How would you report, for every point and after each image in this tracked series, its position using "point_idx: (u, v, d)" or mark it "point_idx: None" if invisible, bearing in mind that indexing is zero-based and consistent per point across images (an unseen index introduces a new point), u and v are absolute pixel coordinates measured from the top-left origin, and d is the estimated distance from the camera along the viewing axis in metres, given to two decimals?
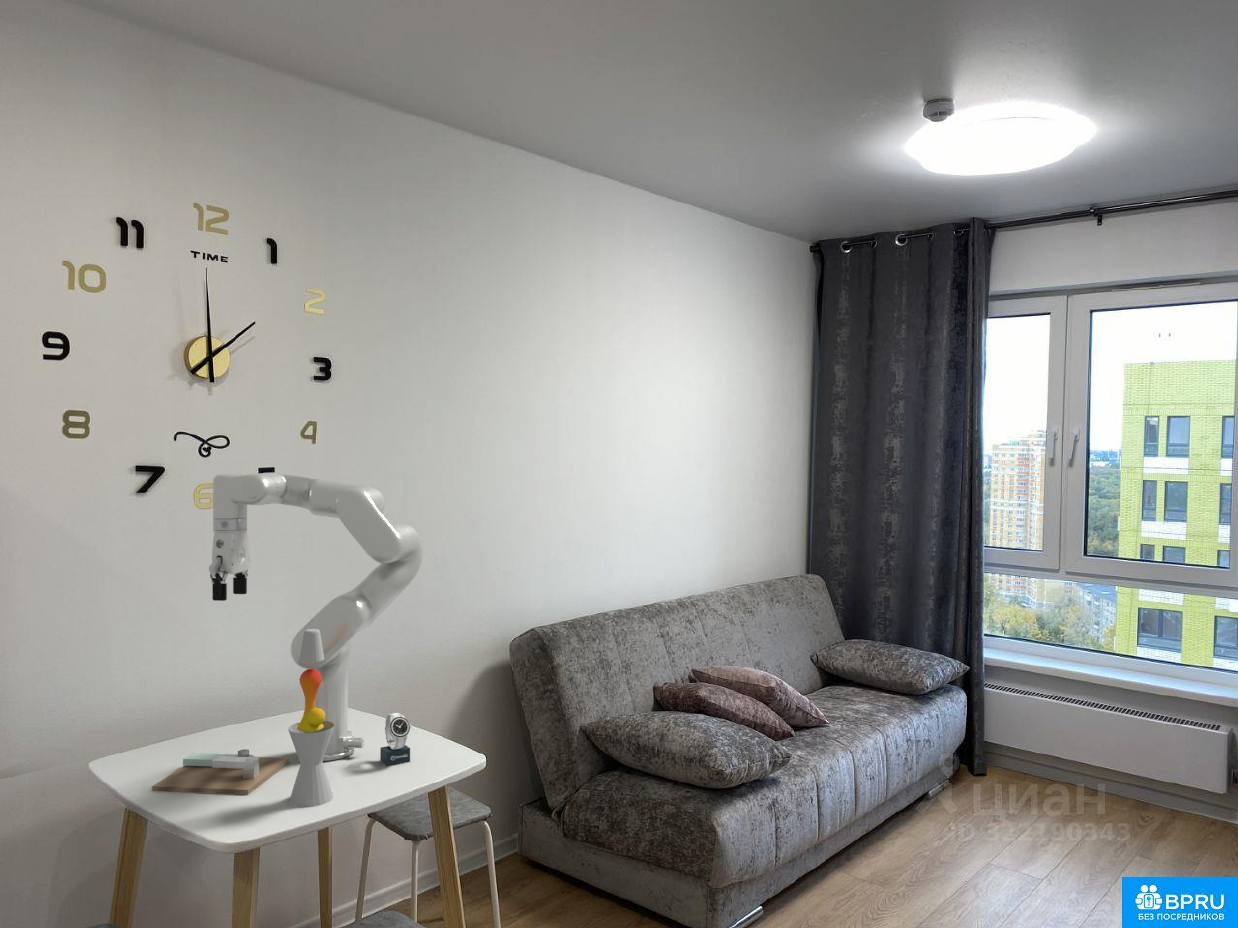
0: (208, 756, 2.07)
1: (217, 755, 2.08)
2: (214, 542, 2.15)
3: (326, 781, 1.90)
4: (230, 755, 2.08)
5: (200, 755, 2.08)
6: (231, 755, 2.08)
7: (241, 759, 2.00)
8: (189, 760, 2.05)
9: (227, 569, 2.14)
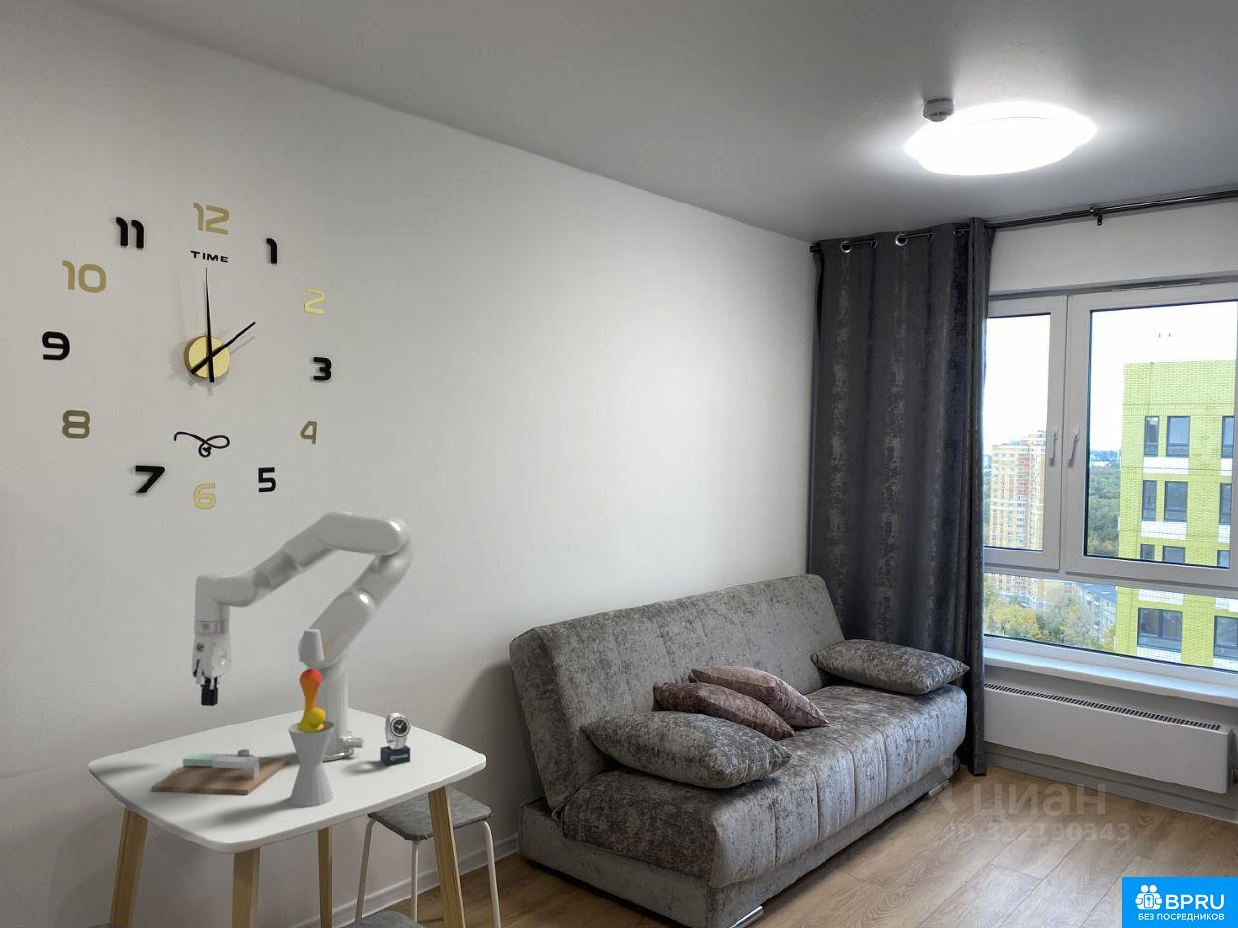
0: (208, 756, 2.07)
1: (217, 755, 2.08)
2: (194, 645, 2.10)
3: (326, 781, 1.90)
4: (230, 755, 2.08)
5: (200, 755, 2.08)
6: (231, 755, 2.08)
7: (241, 759, 2.00)
8: (189, 760, 2.05)
9: (207, 673, 2.10)
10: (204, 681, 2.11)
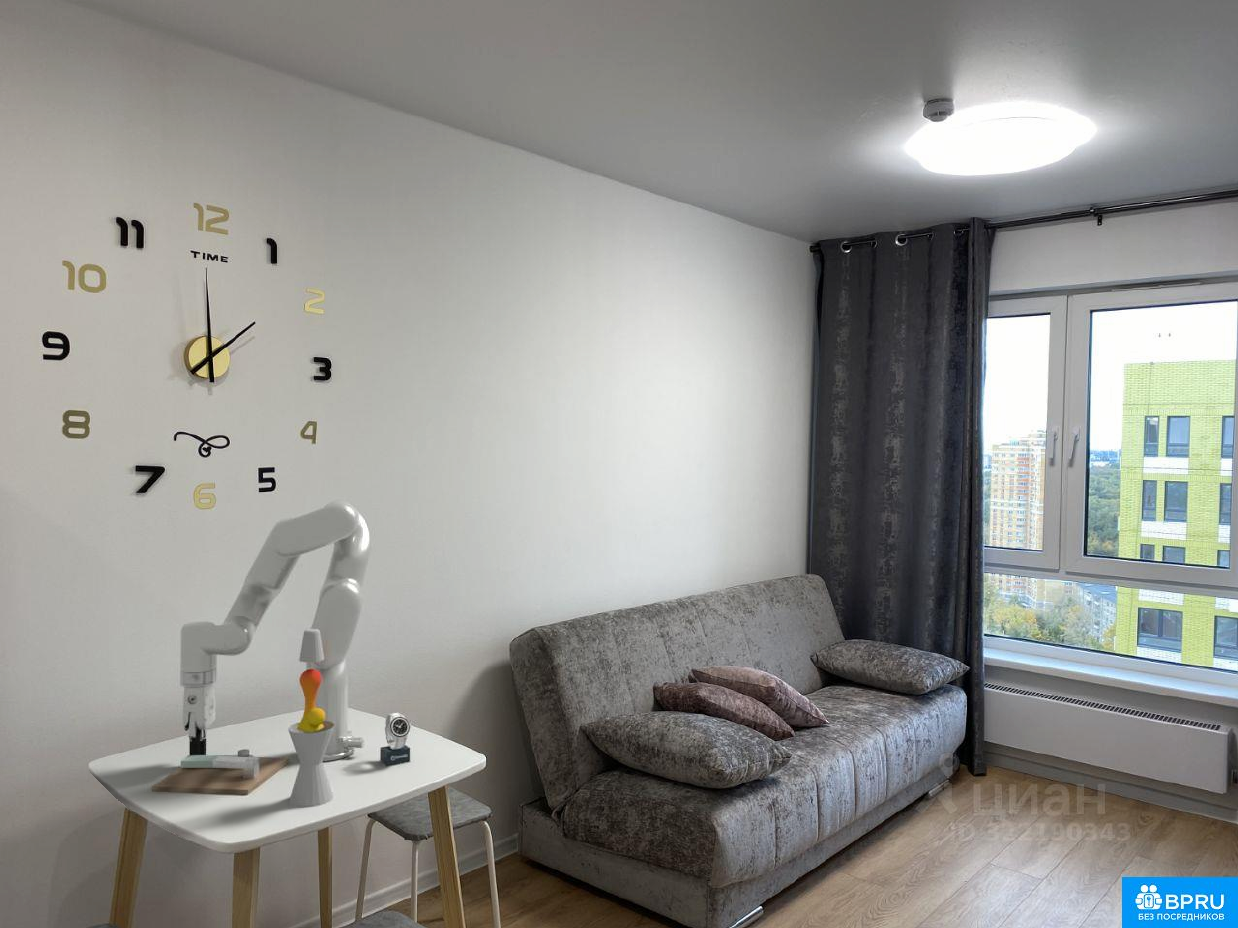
0: (206, 757, 2.06)
1: (215, 756, 2.07)
2: (185, 698, 2.05)
3: (326, 781, 1.90)
4: (229, 756, 2.07)
5: (197, 756, 2.07)
6: (230, 756, 2.07)
7: (241, 759, 2.00)
8: (187, 762, 2.04)
9: (201, 725, 2.05)
10: (196, 734, 2.06)
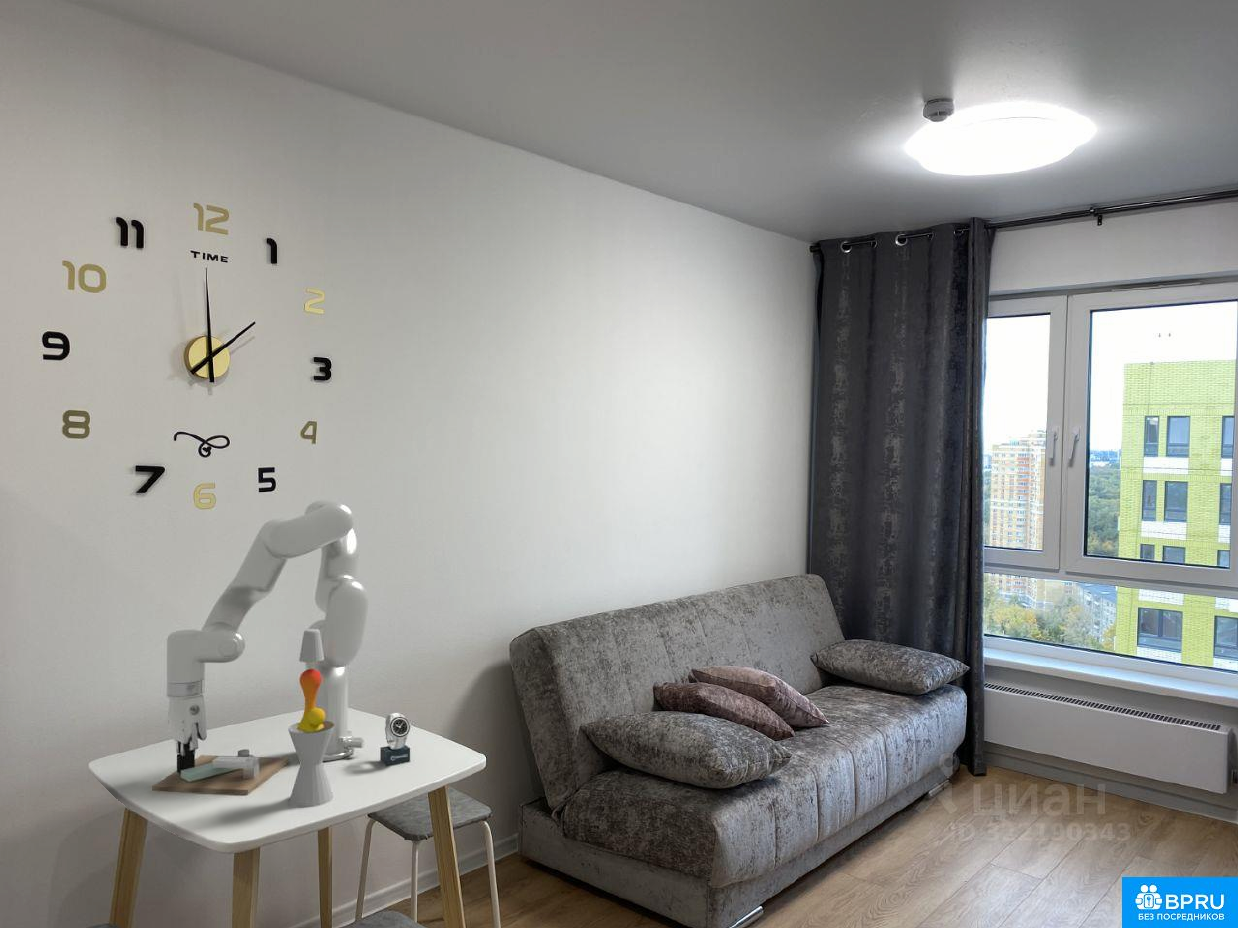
0: (207, 766, 2.00)
1: None
2: (187, 709, 1.96)
3: (326, 781, 1.90)
4: None
5: (195, 768, 1.99)
6: None
7: (241, 759, 2.00)
8: (196, 774, 1.96)
9: (204, 735, 1.98)
10: None
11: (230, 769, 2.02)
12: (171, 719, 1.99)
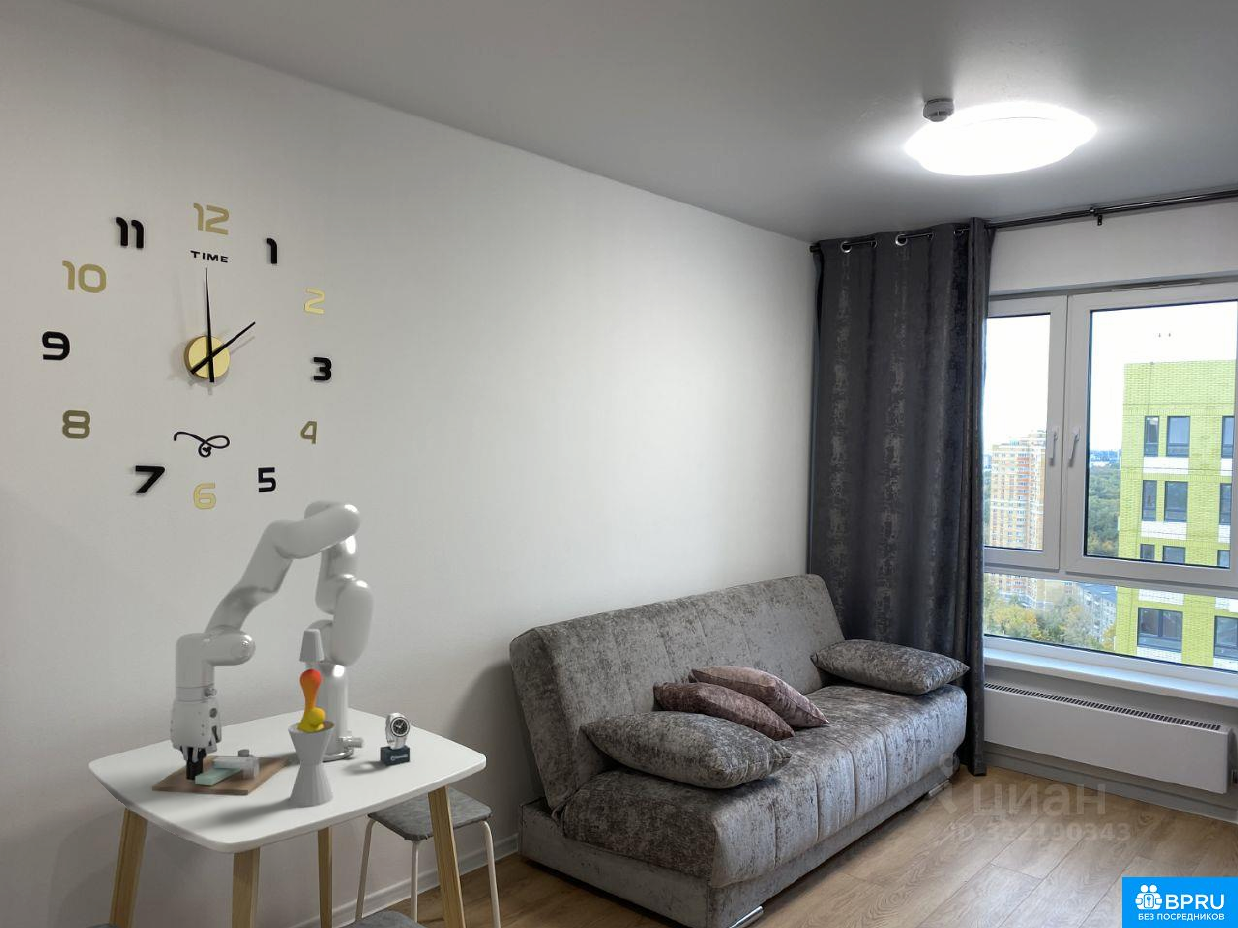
0: (218, 769, 1.99)
1: None
2: (207, 713, 1.93)
3: (326, 781, 1.90)
4: None
5: (208, 772, 1.96)
6: None
7: (241, 759, 2.00)
8: (216, 777, 1.95)
9: (220, 737, 1.97)
10: None
11: (239, 769, 2.02)
12: (180, 726, 1.94)
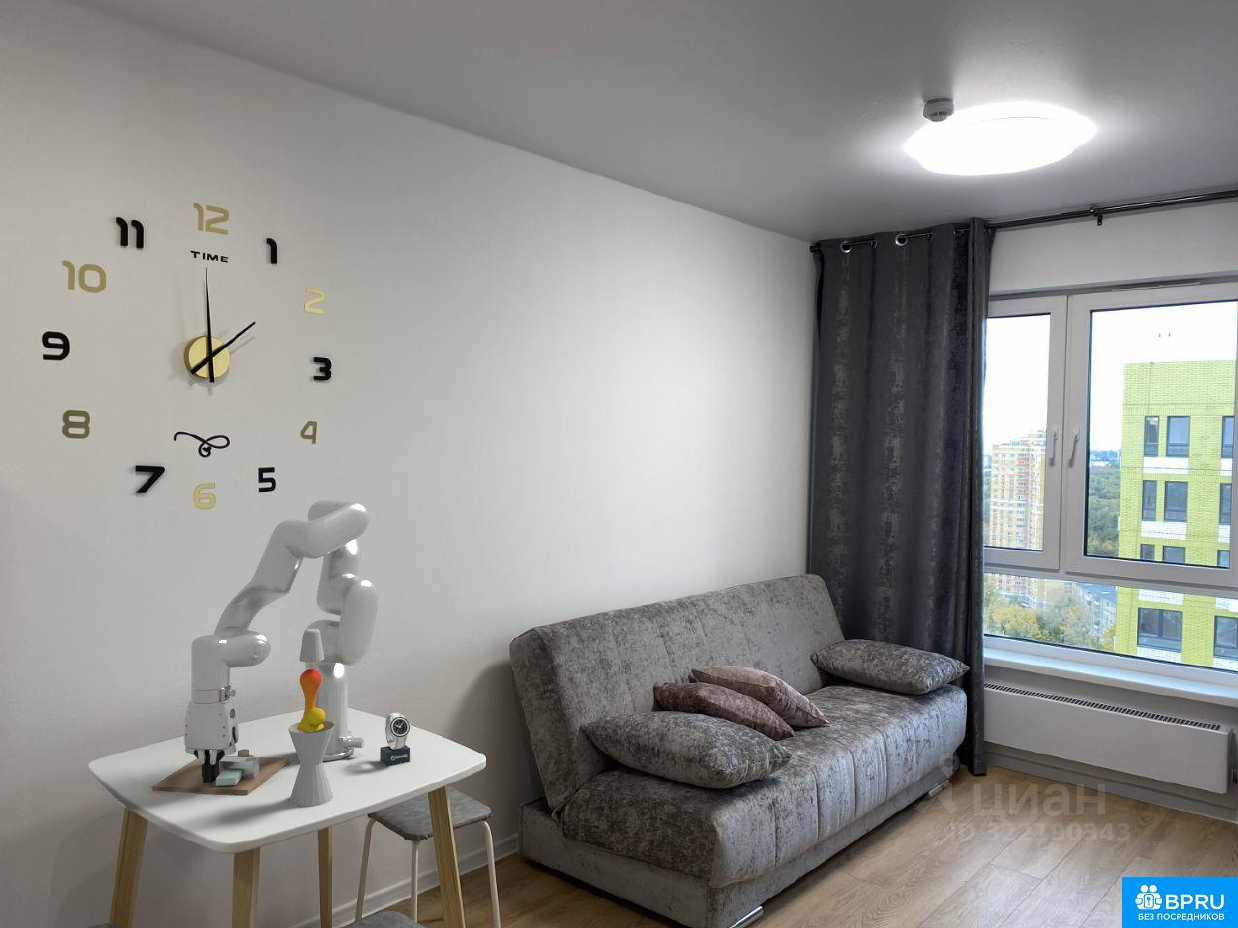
0: (232, 770, 1.98)
1: None
2: (227, 714, 1.93)
3: (326, 781, 1.90)
4: None
5: (226, 773, 1.96)
6: None
7: (241, 759, 2.00)
8: (237, 777, 1.95)
9: (238, 738, 1.96)
10: None
11: None
12: (197, 729, 1.92)
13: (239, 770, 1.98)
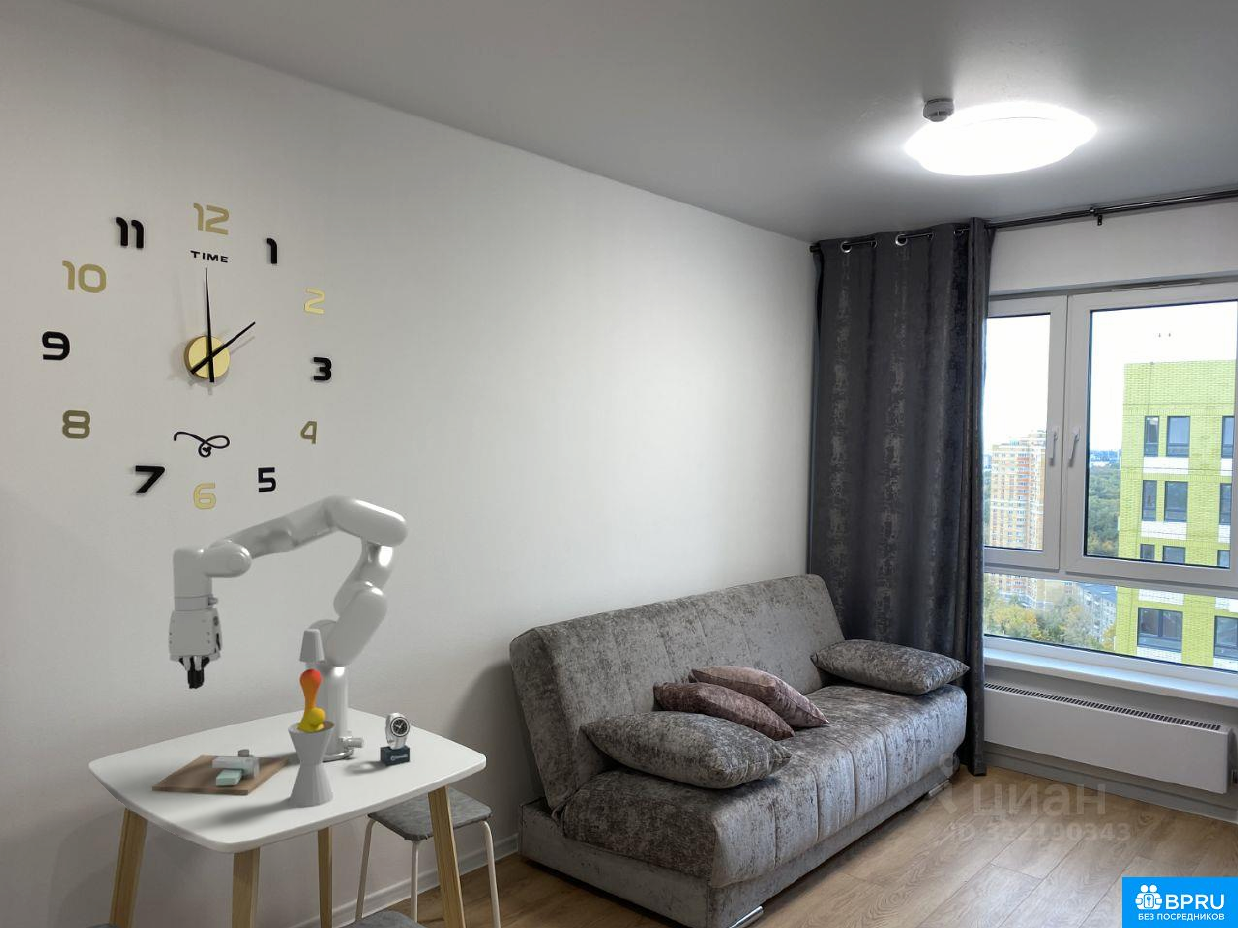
0: (232, 770, 1.98)
1: None
2: (211, 621, 1.98)
3: (326, 781, 1.90)
4: None
5: (225, 773, 1.96)
6: None
7: (241, 759, 2.00)
8: (237, 777, 1.95)
9: None
10: None
11: None
12: (181, 636, 1.97)
13: (239, 770, 1.98)
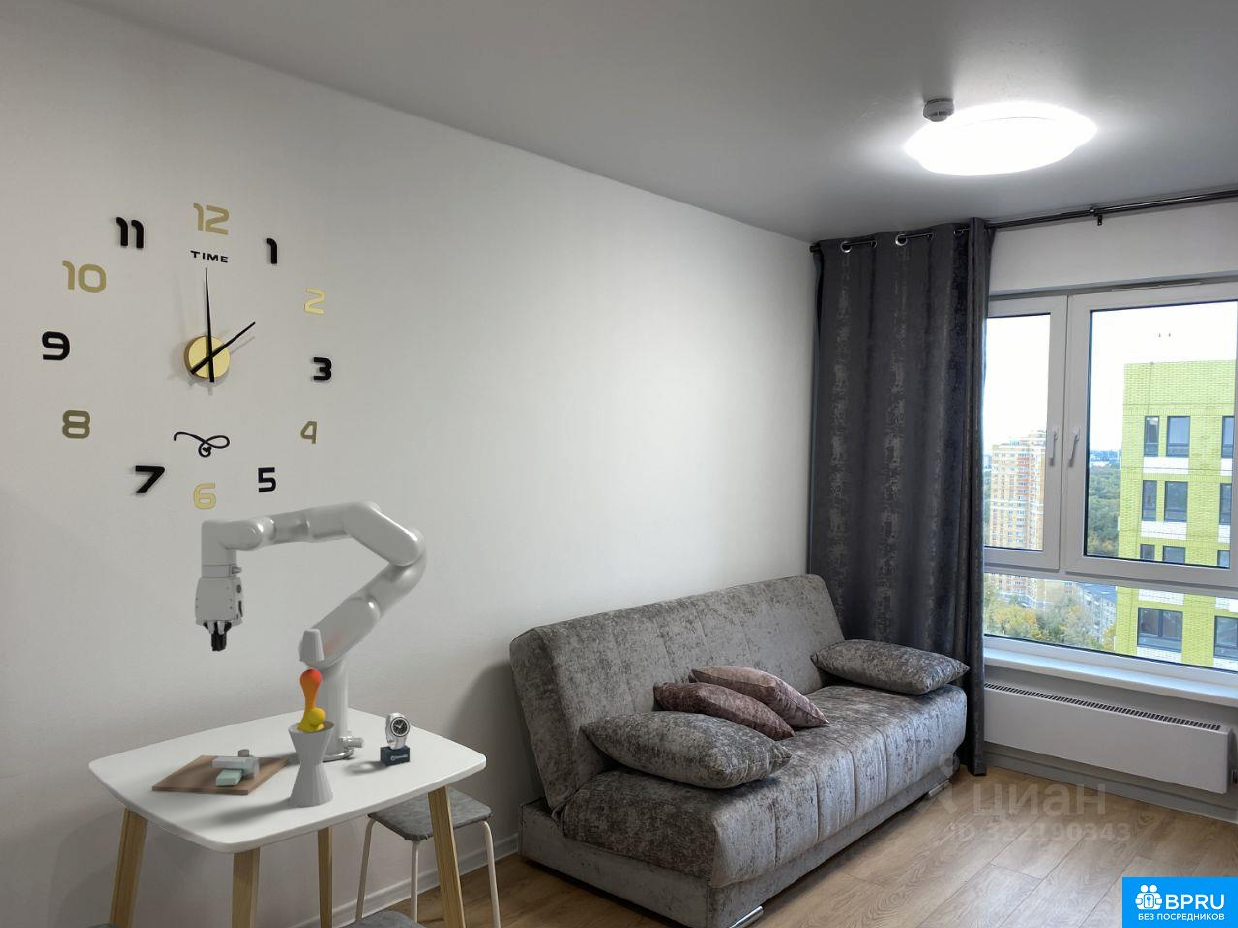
0: (232, 770, 1.98)
1: None
2: (234, 588, 2.13)
3: (326, 781, 1.90)
4: None
5: (225, 773, 1.96)
6: None
7: (241, 759, 2.00)
8: (237, 777, 1.95)
9: (243, 612, 2.16)
10: None
11: None
12: (206, 602, 2.12)
13: (239, 770, 1.98)
